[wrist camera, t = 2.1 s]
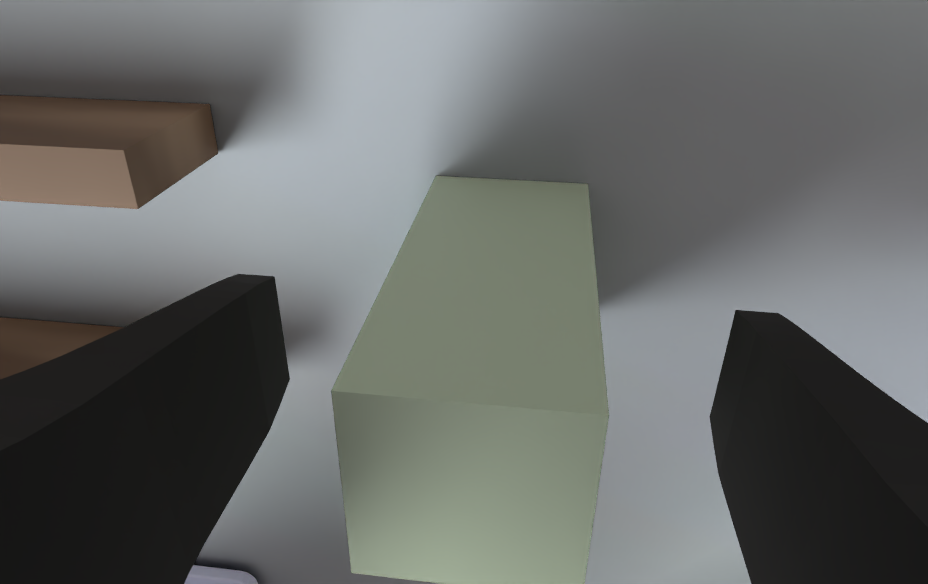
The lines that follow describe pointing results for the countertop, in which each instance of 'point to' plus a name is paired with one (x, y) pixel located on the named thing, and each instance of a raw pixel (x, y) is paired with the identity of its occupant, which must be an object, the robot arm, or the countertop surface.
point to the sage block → (478, 393)
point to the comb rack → (89, 180)
